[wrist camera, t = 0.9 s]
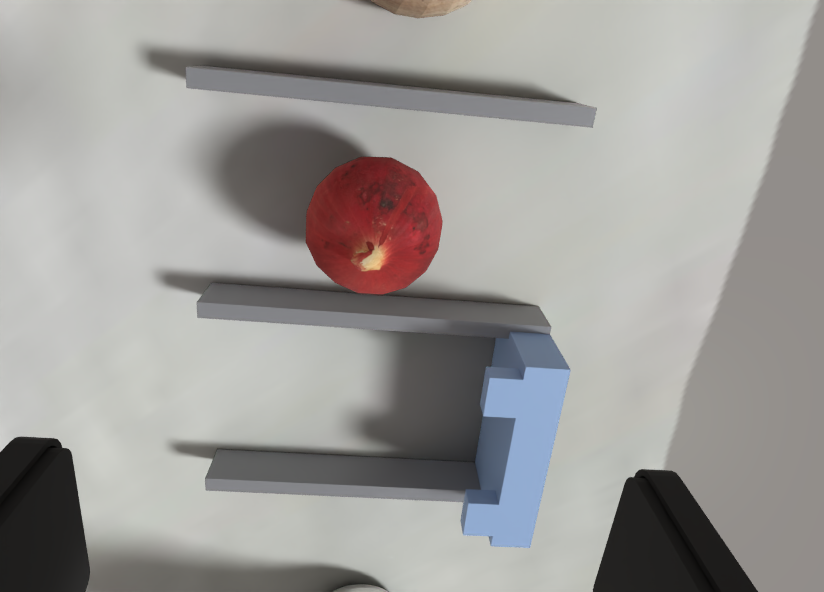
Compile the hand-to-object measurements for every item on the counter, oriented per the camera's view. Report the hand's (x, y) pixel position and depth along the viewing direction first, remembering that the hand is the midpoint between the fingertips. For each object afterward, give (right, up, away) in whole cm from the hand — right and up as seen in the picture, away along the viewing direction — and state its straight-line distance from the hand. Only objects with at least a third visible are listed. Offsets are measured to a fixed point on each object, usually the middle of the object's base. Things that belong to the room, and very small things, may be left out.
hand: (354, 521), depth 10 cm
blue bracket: (+6, -2, +23) cm, 24 cm away
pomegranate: (-1, +8, +19) cm, 21 cm away
